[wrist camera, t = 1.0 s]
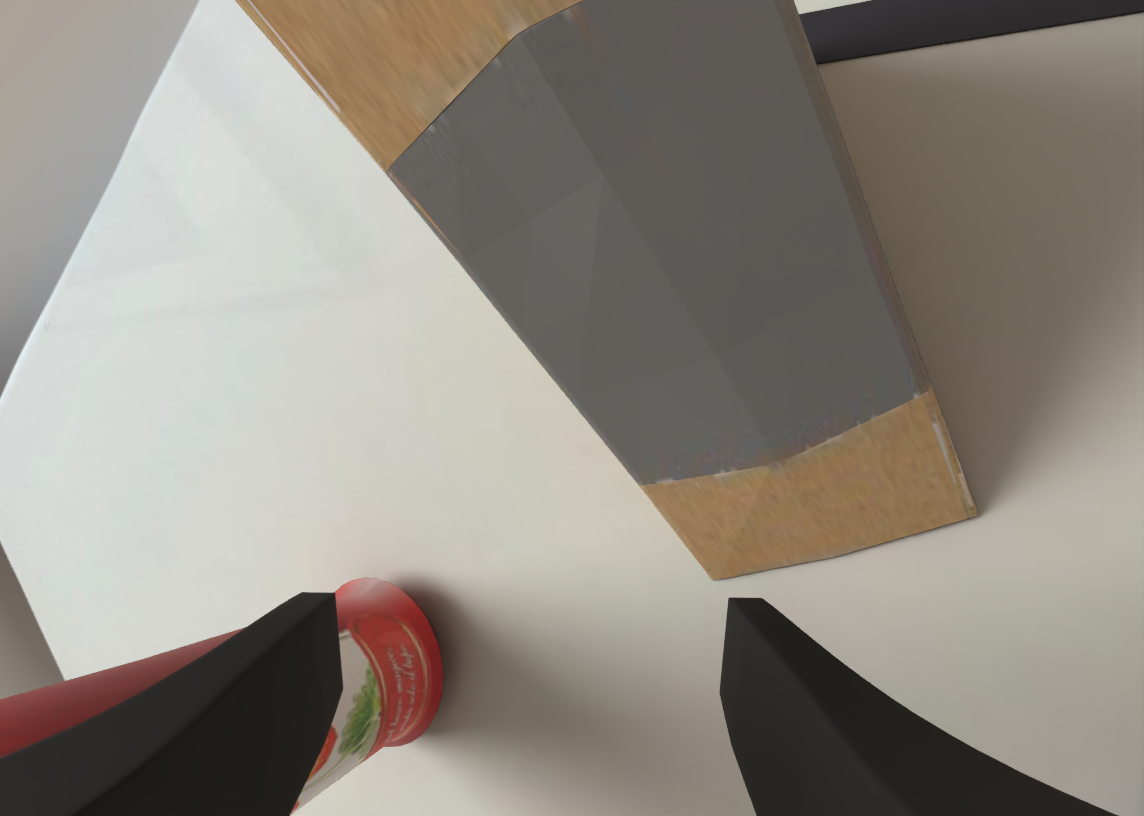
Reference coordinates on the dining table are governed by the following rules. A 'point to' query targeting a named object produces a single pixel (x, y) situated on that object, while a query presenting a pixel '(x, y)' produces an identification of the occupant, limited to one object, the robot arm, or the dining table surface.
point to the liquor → (364, 714)
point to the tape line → (940, 22)
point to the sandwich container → (661, 248)
